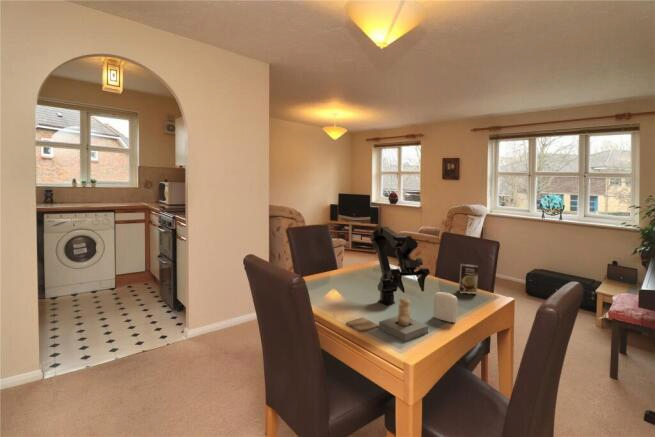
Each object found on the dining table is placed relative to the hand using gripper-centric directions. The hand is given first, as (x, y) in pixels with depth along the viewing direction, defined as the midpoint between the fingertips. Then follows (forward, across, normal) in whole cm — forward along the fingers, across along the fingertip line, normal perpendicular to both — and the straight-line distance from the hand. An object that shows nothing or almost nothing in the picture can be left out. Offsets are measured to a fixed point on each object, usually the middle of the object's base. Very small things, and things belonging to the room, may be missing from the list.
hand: (413, 291), depth 145 cm
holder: (+15, -8, +4) cm, 17 cm away
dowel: (+15, -8, +4) cm, 17 cm away
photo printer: (+10, +17, +10) cm, 22 cm away
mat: (+10, -23, +10) cm, 27 cm away
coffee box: (-10, +54, +36) cm, 66 cm away
